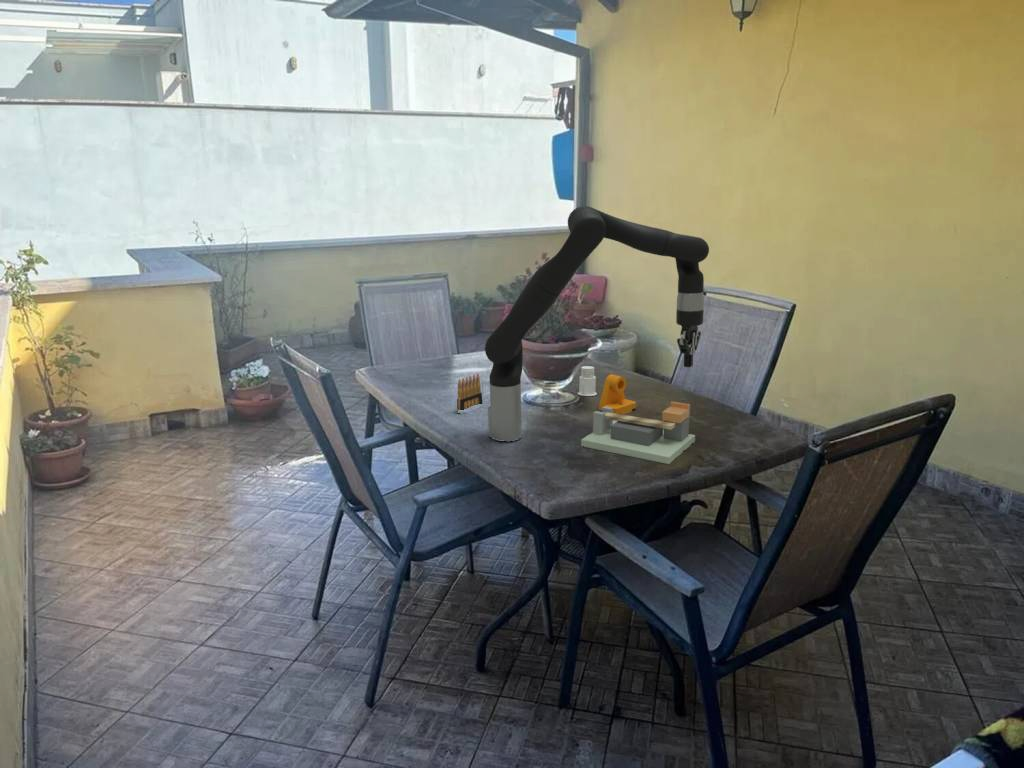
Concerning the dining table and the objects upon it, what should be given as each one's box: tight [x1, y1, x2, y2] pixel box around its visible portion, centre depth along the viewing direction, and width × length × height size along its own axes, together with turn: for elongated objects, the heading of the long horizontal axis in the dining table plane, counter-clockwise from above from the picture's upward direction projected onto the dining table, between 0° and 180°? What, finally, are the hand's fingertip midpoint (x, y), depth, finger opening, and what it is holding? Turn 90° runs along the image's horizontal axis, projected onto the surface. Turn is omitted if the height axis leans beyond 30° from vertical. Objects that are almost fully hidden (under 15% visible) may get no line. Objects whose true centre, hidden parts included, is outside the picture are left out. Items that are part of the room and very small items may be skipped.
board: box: [580, 406, 696, 465], centre depth 208 cm, size 27×20×8 cm
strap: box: [604, 411, 675, 430], centre depth 208 cm, size 23×3×2 cm, turn 56°
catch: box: [661, 401, 691, 423], centre depth 206 cm, size 6×7×4 cm
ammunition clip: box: [456, 373, 483, 410], centre depth 242 cm, size 11×2×12 cm, turn 139°
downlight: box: [577, 365, 598, 397], centre depth 257 cm, size 8×7×10 cm
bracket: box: [598, 373, 637, 415], centre depth 238 cm, size 11×7×12 cm, turn 130°
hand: (688, 366), depth 208 cm, fingers closed
